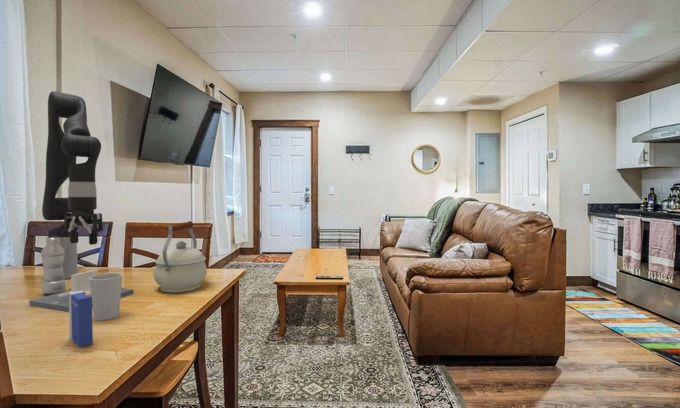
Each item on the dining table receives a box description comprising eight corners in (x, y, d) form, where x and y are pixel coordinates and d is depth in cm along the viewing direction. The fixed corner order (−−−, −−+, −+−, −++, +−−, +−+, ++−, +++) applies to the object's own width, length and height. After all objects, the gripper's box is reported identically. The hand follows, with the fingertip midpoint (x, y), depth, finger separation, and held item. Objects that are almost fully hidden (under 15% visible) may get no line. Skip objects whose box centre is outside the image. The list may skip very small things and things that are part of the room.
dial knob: (87, 289, 119) (87, 268, 118) (104, 292, 116) (104, 270, 116) (49, 300, 107) (49, 277, 107) (68, 303, 105) (67, 279, 104)
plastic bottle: (52, 296, 115) (50, 239, 114) (36, 295, 117) (35, 238, 116) (70, 291, 122) (69, 236, 121) (55, 290, 123) (54, 235, 122)
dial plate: (29, 305, 107) (29, 300, 107) (91, 287, 126) (91, 283, 126) (75, 312, 101) (75, 307, 101) (133, 293, 120) (133, 288, 120)
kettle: (190, 297, 117) (189, 226, 116) (139, 295, 118) (139, 225, 117) (219, 278, 142) (219, 219, 141) (178, 276, 143) (177, 219, 142)
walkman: (93, 343, 82) (92, 295, 81) (79, 347, 80) (78, 298, 79) (82, 334, 87) (82, 288, 86) (69, 338, 85) (68, 291, 84)
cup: (87, 323, 94) (86, 281, 93) (92, 313, 101) (92, 274, 100) (121, 318, 97) (120, 278, 97) (124, 309, 104) (123, 271, 104)
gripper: (109, 195, 114) (110, 243, 114) (78, 195, 118) (79, 240, 118) (87, 196, 106) (88, 246, 107) (55, 195, 110) (56, 244, 111)
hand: (83, 243), depth 113 cm, fingers open, 8 cm apart
